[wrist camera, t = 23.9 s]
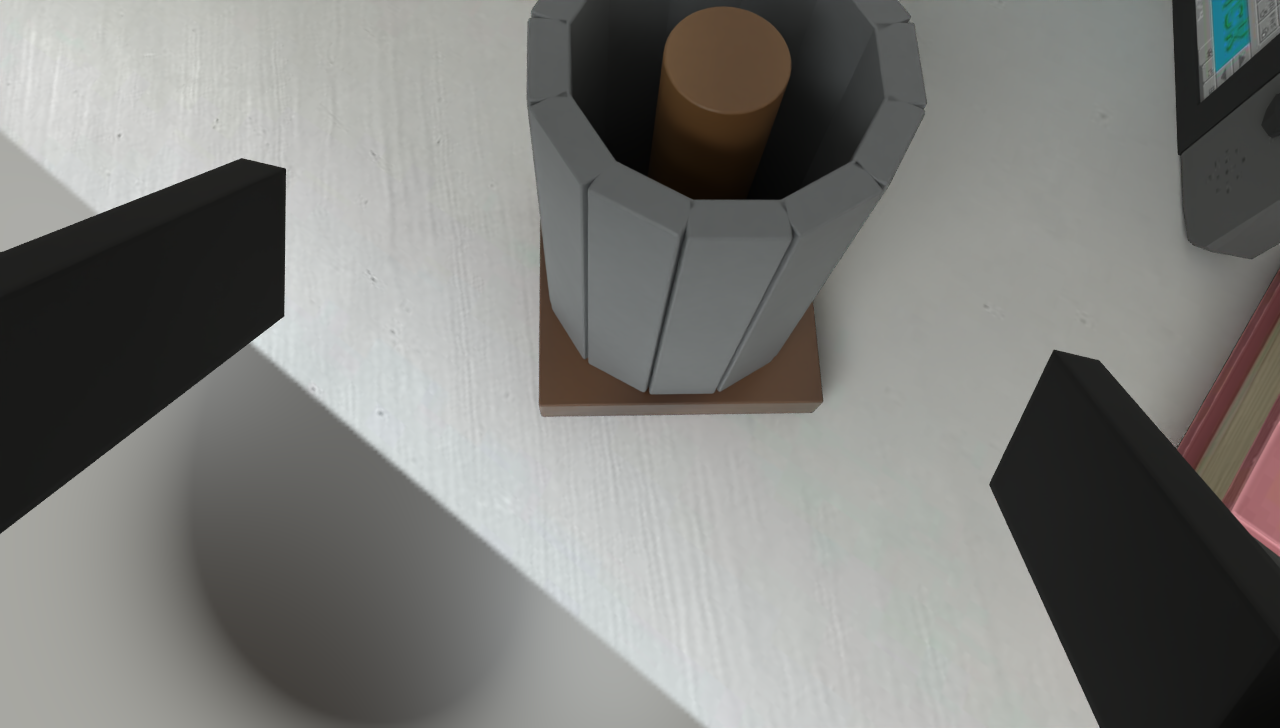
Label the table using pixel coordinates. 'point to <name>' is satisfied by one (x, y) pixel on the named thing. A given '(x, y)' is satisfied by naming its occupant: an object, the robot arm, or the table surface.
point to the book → (1245, 427)
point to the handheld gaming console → (1229, 122)
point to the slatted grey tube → (707, 229)
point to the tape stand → (702, 170)
